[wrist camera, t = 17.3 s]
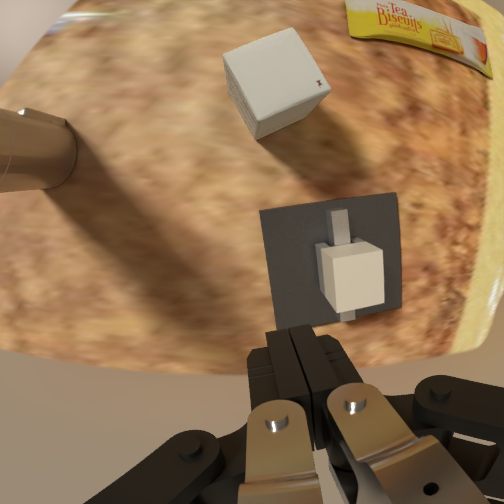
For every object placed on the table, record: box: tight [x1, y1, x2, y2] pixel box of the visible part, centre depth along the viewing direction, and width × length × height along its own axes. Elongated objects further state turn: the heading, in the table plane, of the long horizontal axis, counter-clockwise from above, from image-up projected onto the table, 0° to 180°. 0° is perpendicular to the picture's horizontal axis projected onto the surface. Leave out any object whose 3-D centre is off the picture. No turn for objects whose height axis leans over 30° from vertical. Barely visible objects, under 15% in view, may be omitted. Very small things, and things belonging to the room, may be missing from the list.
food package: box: [345, 0, 493, 77], centre depth 33 cm, size 27×2×10 cm
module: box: [315, 237, 384, 313], centre depth 36 cm, size 6×6×8 cm
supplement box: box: [222, 28, 332, 140], centre depth 30 cm, size 7×7×13 cm
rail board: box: [259, 192, 401, 330], centre depth 39 cm, size 16×18×4 cm
